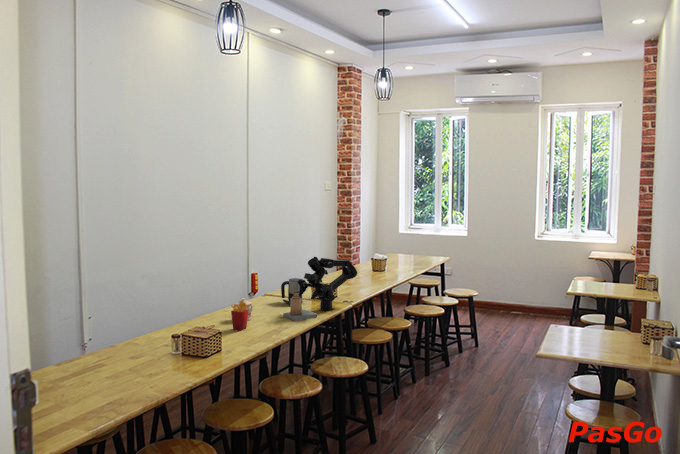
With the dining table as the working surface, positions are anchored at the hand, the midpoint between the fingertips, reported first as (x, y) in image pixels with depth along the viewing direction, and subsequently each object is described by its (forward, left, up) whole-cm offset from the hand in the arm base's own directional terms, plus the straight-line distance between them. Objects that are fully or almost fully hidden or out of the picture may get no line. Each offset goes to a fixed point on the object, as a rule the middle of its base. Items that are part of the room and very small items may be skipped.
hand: (305, 297), depth 313 cm
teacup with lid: (+32, -13, -10) cm, 36 cm away
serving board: (+5, +2, -10) cm, 11 cm away
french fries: (+44, +5, -10) cm, 45 cm away
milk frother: (-12, -30, -10) cm, 34 cm away
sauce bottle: (+7, +2, -8) cm, 11 cm away
